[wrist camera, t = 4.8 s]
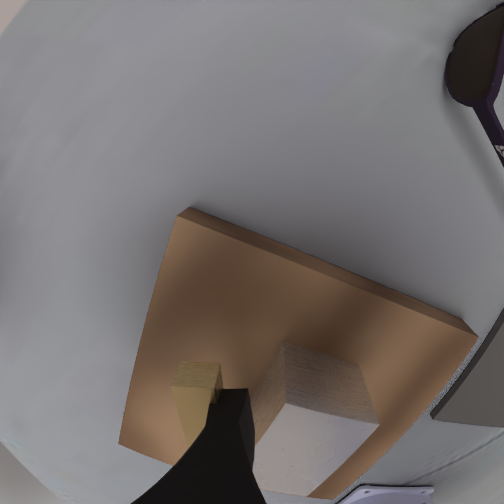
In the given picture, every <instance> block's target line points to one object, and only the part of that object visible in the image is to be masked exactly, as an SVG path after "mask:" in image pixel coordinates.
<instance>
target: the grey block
mask: <svg viewBox="0 0 504 504" xmlns="http://www.w3.org/2000/svg"><path fill="white" fill-rule="evenodd" d="M250 403H251V409H252V415H253V421H254V427H255V454H254V463H253V470H252V471H253V474H254V477H255V479H256V481H257V484H258V486H259V489H263V490H268V491H273V492H279V493H285V494H291V495H298V496H305V497H307V496H308V495H309V494H310V493H311V492H312V491H314V490H315V489H316V488H317V487H318V486H319V485H320V484H321V483H323V482H324V481H325V480H326V479H327V478H328V477H329V476H330V475H331V474H332V473H334V472H335V471H336V470H337V469H338V468H339V467H340V466H341V465H342V464H343V463H344V462H345V461H346V460H347V459H348V458H349V457H350V456H351V455H352V454H353V453H354V452H355V451H356V450H357V449H358V448H359V447H360V446H361V445H362V444H363V443H364V442H365V440H366V439H367V438H368V437H369V436H370V435H371V434H372V433H373V432H374V431H375V430H376V428H377V427H378V426H379V425H380V424H379V421H378V418H377V415H376V412H375V409H374V406H373V403H372V400H371V397H370V394H369V392H368V389H367V386H366V383H365V380H364V377H363V375H362V372H361V369H360V366H359V365H357V364H354V363H350V362H347V361H344V360H340V359H337V358H334V357H331V356H328V355H325V354H321V353H318V352H315V351H312V350H309V349H306V348H303V347H300V346H297V345H294V344H291V343H288V342H285V341H282V343H281V345H280V347H279V349H278V351H277V352H276V354H275V356H274V358H273V360H272V361H271V363H270V365H269V367H268V369H267V370H266V372H265V374H264V376H263V377H262V379H261V381H260V383H259V384H258V386H257V388H256V390H255V391H254V393H253V395H252V397H251V398H250Z"/></svg>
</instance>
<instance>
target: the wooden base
mask: <svg viewBox="0 0 504 504" xmlns="http://www.w3.org/2000/svg"><path fill="white" fill-rule="evenodd" d="M477 339H478V336H477V335H476V334H475V333H474V331H473V330H472V329H471V328H470V327H469V326H468V325H467V324H466V323H465V322H464V321H463V320H462V319H460V318H457V317H455V316H453V315H450V314H448V313H446V312H444V311H441V310H439V309H437V308H434V307H432V306H430V305H427V304H425V303H423V302H420V301H418V300H416V299H413V298H411V297H409V296H406V295H404V294H402V293H399V292H397V291H395V290H392V289H390V288H388V287H385V286H383V285H380V284H378V283H376V282H373V281H371V280H369V279H366V278H364V277H361V276H359V275H357V274H354V273H352V272H349V271H347V270H345V269H342V268H340V267H337V266H335V265H332V264H330V263H328V262H325V261H323V260H320V259H318V258H315V257H313V256H311V255H308V254H306V253H303V252H301V251H298V250H296V249H293V248H291V247H288V246H286V245H284V244H281V243H279V242H276V241H274V240H271V239H269V238H266V237H264V236H261V235H259V234H256V233H254V232H251V231H249V230H246V229H244V228H241V227H239V226H236V225H234V224H231V223H229V222H226V221H223V220H221V219H218V218H216V217H213V216H211V215H208V214H206V213H203V212H201V211H198V210H195V209H193V208H190V207H188V208H187V209H186V210H184V211H183V212H181V213H180V214H179V215H177V217H176V220H175V223H174V226H173V229H172V232H171V235H170V238H169V241H168V245H167V248H166V251H165V254H164V258H163V261H162V264H161V267H160V271H159V274H158V278H157V281H156V284H155V288H154V291H153V295H152V299H151V302H150V306H149V310H148V313H147V317H146V321H145V325H144V328H143V332H142V336H141V340H140V344H139V348H138V352H137V356H136V361H135V365H134V369H133V374H132V378H131V382H130V387H129V392H128V396H127V401H126V406H125V411H124V416H123V421H122V426H121V432H120V437H119V443H118V444H120V445H122V446H125V447H127V448H129V449H132V450H134V451H136V452H139V453H141V454H144V455H146V456H149V457H151V458H154V459H157V460H159V461H162V462H165V463H168V464H170V465H173V466H174V465H175V464H176V463H177V462H178V460H179V459H180V458H181V457H182V456H183V455H184V453H185V452H186V451H187V450H188V445H187V441H186V438H185V435H184V431H183V428H182V425H181V421H180V418H179V414H178V410H177V407H176V403H175V399H174V396H173V392H172V388H171V385H172V383H173V380H174V378H175V375H176V373H177V370H178V368H179V365H180V363H181V361H189V362H220V364H221V372H222V380H223V387H224V389H240V388H248V391H249V397H250V398H251V397H252V395H253V393H254V391H255V390H256V388H257V386H258V384H259V383H260V381H261V379H262V377H263V376H264V374H265V372H266V370H267V369H268V367H269V365H270V363H271V361H272V360H273V358H274V356H275V354H276V352H277V351H278V349H279V347H280V345H281V343H282V341H285V342H288V343H291V344H294V345H297V346H300V347H303V348H306V349H309V350H312V351H315V352H318V353H321V354H325V355H328V356H331V357H334V358H337V359H340V360H344V361H347V362H350V363H354V364H357V365H359V366H360V369H361V372H362V375H363V377H364V380H365V383H366V386H367V389H368V392H369V394H370V397H371V400H372V403H373V406H374V409H375V412H376V415H377V418H378V421H379V424H380V425H379V426H378V427H377V428H376V430H375V431H374V432H373V433H372V434H371V435H370V436H369V437H368V438H367V439H366V440H365V442H364V443H363V444H362V445H361V446H360V447H359V448H358V449H357V450H356V451H355V452H354V453H353V454H352V455H351V456H350V457H349V458H348V459H347V460H346V461H345V462H344V463H343V464H342V465H341V466H340V467H339V468H338V469H337V470H336V471H335V472H334V473H332V474H331V475H330V476H329V477H328V478H327V479H326V480H325V481H324V482H323V483H321V484H320V485H319V486H318V487H317V488H316V489H315V490H314V491H312V492H311V493H310V494H309V495H308V496H307V497H312V498H320V499H330V500H332V499H334V498H335V497H336V496H338V495H339V494H340V493H341V492H342V491H344V490H345V489H346V488H347V487H348V486H350V485H351V484H352V483H353V482H354V481H355V480H357V479H358V478H359V477H360V476H361V475H362V474H363V473H364V472H366V471H367V470H368V469H369V468H370V467H371V466H372V465H373V464H374V463H375V462H376V461H377V460H378V459H379V458H380V457H381V456H383V455H384V454H385V453H386V452H387V451H388V450H389V449H390V448H391V447H392V446H393V445H394V443H395V442H396V441H397V440H398V439H399V438H400V437H401V436H402V435H403V434H404V433H405V432H406V431H407V430H408V429H409V428H410V426H411V425H412V424H413V423H414V422H415V421H416V420H417V419H418V417H419V416H420V415H421V414H422V413H423V412H424V411H425V409H426V408H427V407H428V406H429V405H430V403H431V402H432V401H433V400H434V398H435V397H436V396H437V395H438V393H439V392H440V391H441V390H442V388H443V387H444V386H445V384H446V383H447V382H448V381H449V379H450V378H451V377H452V375H453V374H454V372H455V371H456V370H457V368H458V367H459V366H460V364H461V363H462V361H463V360H464V358H465V357H466V356H467V354H468V353H469V351H470V350H471V348H472V347H473V345H474V344H475V342H476V340H477ZM262 490H263V489H262ZM267 491H268V490H267ZM272 492H273V491H272ZM278 493H279V492H278ZM284 494H285V493H284ZM290 495H291V494H290ZM296 496H298V495H296ZM304 497H305V496H304Z"/></svg>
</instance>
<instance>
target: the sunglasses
mask: <svg viewBox="0 0 504 504" xmlns="http://www.w3.org/2000/svg"><path fill="white" fill-rule="evenodd" d="M503 74H504V2H502V3H500V4H499V5H497V6H496V8H495V9H493V10H491V11H489V12H488V13H486V14H485V15H483V16H482V17H480V18H478V19H477V20H475V21H474V22H473V23H471V24H470V25H469V26H468V27H467V28H466V29H465V30H464V31H463V32H462V33H461V34H460V35H459V36H458V38H457V39H456V40H455V42H454V48H453V51H452V52H450V54H449V56H448V58H447V64H446V73H445V75H446V84H447V87H448V90H449V93H450V95H451V96H452V98H453V99H455V100H456V101H457V102H459V103H461V104H463V105H465V106H468V107H473V109H474V111H475V113H476V115H477V116H478V118H479V120H480V122H481V124H482V126H483V128H484V130H485V132H486V134H487V135H488V137H489V139H490V141H491V143H492V145H493V147H494V149H495V151H496V153H497V155H498V157H499V159H500V161H501V163H502V165H503V167H504V130H503V128H502V126H501V124H500V122H499V120H498V118H497V115H496V113H495V111H494V107H493V104H494V101H495V100H496V98H497V96H498V93H499V90H500V87H501V83H502V79H503Z"/></svg>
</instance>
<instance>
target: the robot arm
mask: <svg viewBox="0 0 504 504" xmlns="http://www.w3.org/2000/svg"><path fill="white" fill-rule="evenodd" d="M254 454H255V427H254V421H253V415H252V409H251V403H250V397H249V391H248V388H240V389H222V390H221V392H220V395H219V398H218V401H217V403H210V404H209V408H208V413H207V418H206V424H205V427H204V428H203V430H202V431H201V433H200V434H199V435H198V437H197V438H196V440H195V441H194V442H193V443H192V445H191V446H190V447H189V448H188V450H187V451H186V452H185V453H184V455H183V456H182V457H181V458H180V459H179V460H178V462H177V463H176V464H175V465H174V466H173V467H172V468H171V469H170V470H169V471H168V472H167V473H166V474H165V475H164V476H163V477H162V478H161V479H160V480H159V481H158V482H157V483H156V484H155V485H153V486H152V487H151V488H150V489H149V490H148V491H146V492H145V493H144V494H143V495H142V496H140V497H139V498H138V499H136V500H135V501H134V502H132V503H131V504H266V502H265V500H264V497H263V495H262V493H261V491H260V489H259V486H258V484H257V481H256V479H255V477H254V474H253V471H252V470H253V463H254ZM433 491H434V487H378V486H360V487H358V488H357V489H356V490H355V491H353V492H352V493H351V494H350V495H348V496H347V497H346V498H345V499H343V500H342V501H341V502H339V503H338V504H432V502H431V499H430V496H429V495H430V494H431V493H432V492H433Z"/></svg>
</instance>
